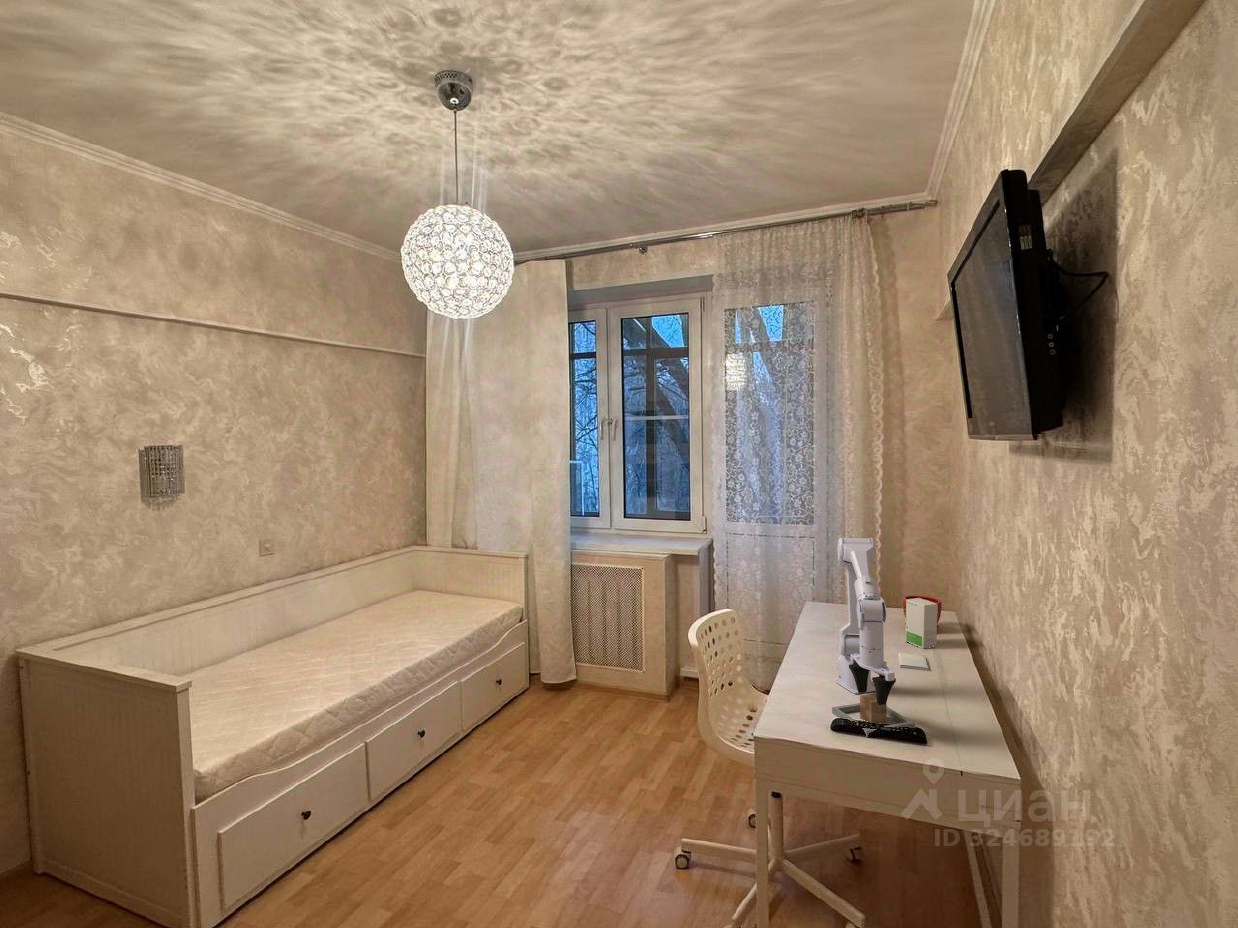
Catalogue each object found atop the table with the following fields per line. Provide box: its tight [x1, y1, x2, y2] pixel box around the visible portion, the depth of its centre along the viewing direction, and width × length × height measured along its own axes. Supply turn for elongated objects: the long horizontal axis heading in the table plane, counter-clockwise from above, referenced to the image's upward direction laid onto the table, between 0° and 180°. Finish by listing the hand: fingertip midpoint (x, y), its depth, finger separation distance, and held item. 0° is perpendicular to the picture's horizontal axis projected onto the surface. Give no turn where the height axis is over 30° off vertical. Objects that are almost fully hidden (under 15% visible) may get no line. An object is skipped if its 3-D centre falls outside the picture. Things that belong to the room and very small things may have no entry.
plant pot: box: [902, 595, 943, 631], centre depth 228 cm, size 13×13×12 cm
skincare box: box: [904, 598, 938, 650], centre depth 212 cm, size 8×7×16 cm
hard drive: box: [897, 652, 930, 672], centre depth 195 cm, size 2×8×12 cm
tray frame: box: [831, 702, 916, 738], centre depth 155 cm, size 14×14×2 cm
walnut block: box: [859, 692, 888, 724], centre depth 155 cm, size 4×4×6 cm
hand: (871, 697), depth 155 cm, fingers open, 7 cm apart
